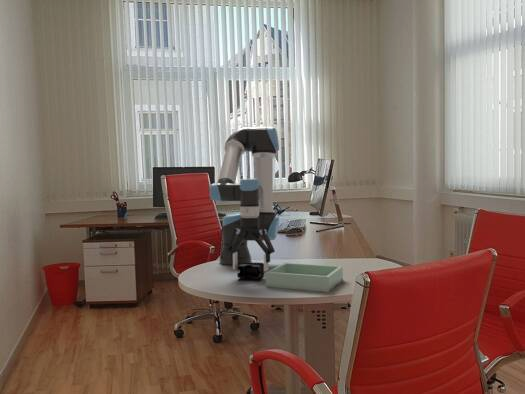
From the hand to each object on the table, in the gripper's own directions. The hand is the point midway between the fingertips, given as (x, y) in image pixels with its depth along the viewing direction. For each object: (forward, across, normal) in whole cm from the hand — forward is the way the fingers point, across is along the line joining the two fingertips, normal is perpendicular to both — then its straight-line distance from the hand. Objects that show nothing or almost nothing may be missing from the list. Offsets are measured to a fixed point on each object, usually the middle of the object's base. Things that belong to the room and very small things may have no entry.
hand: (250, 269), depth 203 cm
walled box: (+4, +23, 0) cm, 23 cm away
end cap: (+4, 0, 0) cm, 4 cm away
